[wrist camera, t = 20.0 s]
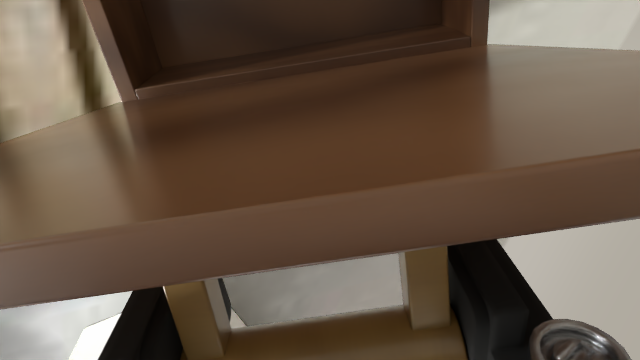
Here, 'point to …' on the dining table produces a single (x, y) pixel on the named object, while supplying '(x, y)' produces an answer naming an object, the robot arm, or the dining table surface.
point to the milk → (99, 333)
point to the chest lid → (321, 189)
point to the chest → (268, 38)
